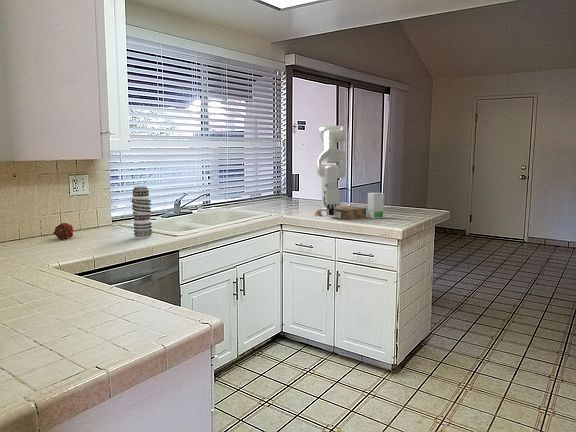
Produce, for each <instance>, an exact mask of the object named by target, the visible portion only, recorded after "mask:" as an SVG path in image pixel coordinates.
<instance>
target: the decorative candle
mask: <svg viewBox="0 0 576 432" xmlns="http://www.w3.org/2000/svg"><path fill="white" fill-rule="evenodd" d="M149 191H150V188H148V187H147V186H140V185H139V186H134V187H133V189H132V198H131V201H130V202H131V203H132V204H131V206H132V207H131V209H132V210H133V211H132V214H133V216H134V217H133V218H134V219H133V226H134V227H133V229H134V230H133V236H134V239H138V240H139V239H142V240H143V239H149V238H152V237H153V229H152V227H153V226H152V224H153V223H152V219H151V214H152V207H151V205H152V203H151V202H152V200H151V199H150V192H149Z"/></svg>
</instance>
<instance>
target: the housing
mask: <svg viewBox="0 0 576 432" xmlns="http://www.w3.org/2000/svg"><path fill="white" fill-rule="evenodd" d="M334 211H339V212H342V218H341V220H345V221H346V220H353V219H355V220H356V219H363V218H367V208H364V207H363V208H362V207H357V206H351V205H342V206H337V207H335V209H334ZM326 217H329V216H328V208H327V210H326Z"/></svg>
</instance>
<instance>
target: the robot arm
mask: <svg viewBox="0 0 576 432" xmlns="http://www.w3.org/2000/svg"><path fill="white" fill-rule="evenodd" d="M318 134H319V137H320V140H321V143H322V152H321V153H320V155H319V156H318V158H317V161H316V173H317V175H318V177H320V179H321V207H319V210H321V211H322V210H323V211H327V208H328V214H329V215H331V216H332V215H334V209H335V207H338V206H341V202H340V201H341V199H340V198H341V197H340V189H339V187H338V179H343V178H345V177H346V173H347V172H346V171H347V170H346V169H347V168H346V164H347V163H346V161H347V159H346V157H347V156H346V155H347V154H346V151H345V150H344V149H339V148H338V147H337V146H338V143H345V142H346V141H347V139H346V138H347V131H346V129H345V126H343V125H323V126H320V127H319V128H318ZM323 162H324V163H325V164H322V163H323Z"/></svg>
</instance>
